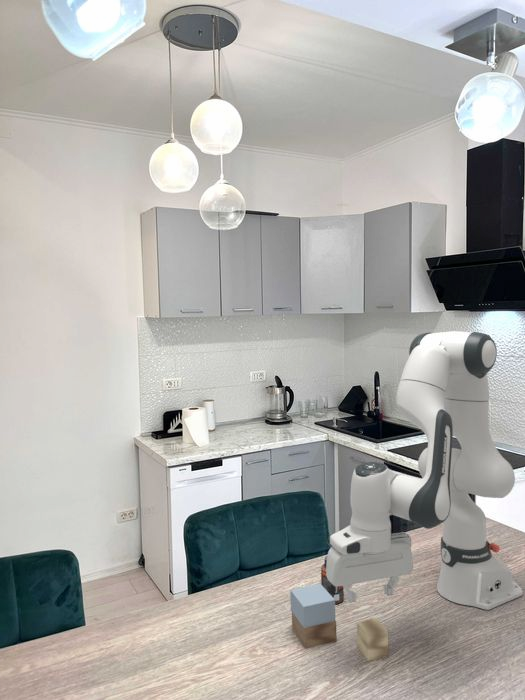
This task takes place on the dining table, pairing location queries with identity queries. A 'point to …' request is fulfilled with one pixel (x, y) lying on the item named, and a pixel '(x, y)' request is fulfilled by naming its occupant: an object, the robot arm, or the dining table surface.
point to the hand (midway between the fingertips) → (370, 597)
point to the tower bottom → (314, 633)
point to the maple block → (372, 639)
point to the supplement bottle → (331, 585)
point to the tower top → (312, 605)
